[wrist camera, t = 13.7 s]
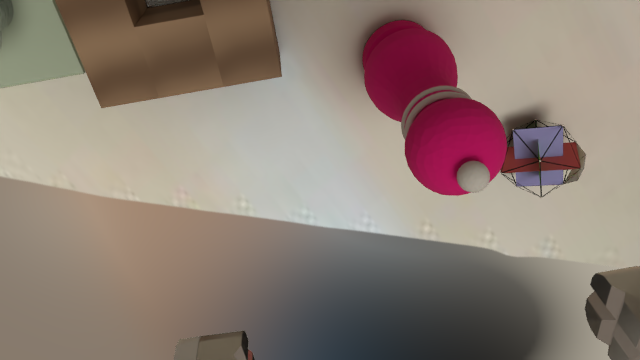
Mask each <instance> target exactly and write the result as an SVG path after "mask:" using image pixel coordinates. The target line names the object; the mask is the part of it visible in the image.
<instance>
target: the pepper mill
mask: <svg viewBox="0 0 640 360" xmlns="http://www.w3.org/2000/svg"><path fill="white" fill-rule="evenodd" d="M363 67H364V70H365V74H364V79H365V87H366V90H367V93H368V95H369V97H370V98H371V100H372V101H373V103H374V104H375V106H376V107H377V108H378V109H379V110H380V111H381V112H383V113H384V114H385V115H387V116H388V117H390V118H392V119H394V120H396V121H400V122H401V128H402V134H403V137H404V139H405V156H406V160H407V163H408V166H409V168H410V170H411V171H412V173H413V175H414V176H415V177H416V179H417V180H418V181H419V182H420V183H421V184H423V185H424V186H425V187H426V188H428V189H430V190H432V191H433V192H436V193H439V194H442V195H463V194H468V193H471V192H472V193H475V192H479V191H482V190H483V189H484V188H485V187H487V185H488V183H489V182H490V181H491V180H492V179H493V178H494V177H495V176H496V175H497V174H498V172H499V171H500V169H501V168H502V165H503V163H504V160H505V157H506V151H507V139H506V135H505V131H504V128H503V126H502V124H501V122H500V120H499V119H498V118H497V116H496V115H495V113H494V112H493V111H492V110H490V109H489V108H488V107H486V106H485V105H484V104H482V103H480V102H477V101H475V100H472V99H471V98H470V96H469V95H468V94H467V93H466V92H464V91H463V90H461V89H459V88H456V87H457V78H458V76H457V66H456V62H455V58H454V56H453V54H452V52H451V50H450V48H449V47H448V45H447V44H446V43H445V42H444V40H443V39H441V38H440V37H439V36H438V35H436V34H434V33H432V32H430V31H427V30H425V29H424V28H423V27H422V26H420V25H419V24H417V23H415V22H412V21H406V20H399V21H393V22H390V23H387V24H385V25H383V26H382V27H380V28H379V29H377V30H376V31H375V32H374V33H373V34H372V35H371V37H370V38H369V40H368V41H367V43H366V45H365V48H364V52H363Z"/></svg>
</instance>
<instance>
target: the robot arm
mask: <svg viewBox="0 0 640 360" xmlns="http://www.w3.org/2000/svg"><path fill="white" fill-rule="evenodd" d="M590 285H591V287H592V288H593V289H594V292H593V293H592V294H591V295H590V296H589V297H588V298H587V300H586V306H585V311H586V317H587V321H588V323H589V326H590V328H591V330H592V331H593V333H594V335H595V336H596V338H598V339H599V340H601V341H602V342H604V343H606V344H608V345H609V349H608V356H609V357H610V359H611V360H640V266H639V267H638V266H634V267H629V268H623V269H617V270H612V271H606V272H600V273H596V274H595V275H594V276H593V277H592V280H591V284H590ZM174 360H255V359H254V355H253V353H252V352H251V351H250V350H248V338H247V335H246V332H245V331H237V332H230V333H222V334H214V335H207V336H200V337H194V338H187V339H180V340H179V342H178V344H177V346H176V350H175V355H174Z"/></svg>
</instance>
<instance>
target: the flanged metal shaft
mask: <svg viewBox="0 0 640 360" xmlns="http://www.w3.org/2000/svg"><path fill="white" fill-rule="evenodd" d="M13 15H14V9H13V4H12V1H11V0H0V50H1V46H2V32H1V31H2V30H3V29H5V28H6V27H7V26H8V25H9V24H10V23H11V21H12V19H13Z"/></svg>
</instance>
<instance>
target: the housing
mask: <svg viewBox="0 0 640 360" xmlns="http://www.w3.org/2000/svg"><path fill="white" fill-rule="evenodd" d="M55 2H56V4H57V6H58V9H59V11H60V13H61V16H62V18H63V20H64V23H65V25H66V27H67V29H68V32H69V34H70V36H71V39H72V41H73V43H74V46H75V48H76V50H77V53H78V55H79V57H80V60H81V62H82V64H83V66H84V69H85V71H86V73H87V76H88V78H89V80H90V83H91V85H92V87H93V90H94V92H95V94H96V97H97V99H98V101H99V104H100V106H101V108H105V107H111V106H116V105H122V104H128V103H134V102H139V101H145V100H151V99H156V98H162V97H168V96H173V95H179V94H185V93H191V92H196V91H202V90H208V89H213V88H219V87H225V86H231V85H236V84H242V83H248V82H253V81H259V80H265V79H271V78H276V77H282V75H281V62H280V52H279V47H278V42H277V37H276V32H275V27H274V22H273V17H272V12H271V7H270V2H269V0H189V1H184V2H178V3H172V4H167V5H161V6H155V7H150V8H147V5H146V2H145V0H55Z"/></svg>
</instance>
